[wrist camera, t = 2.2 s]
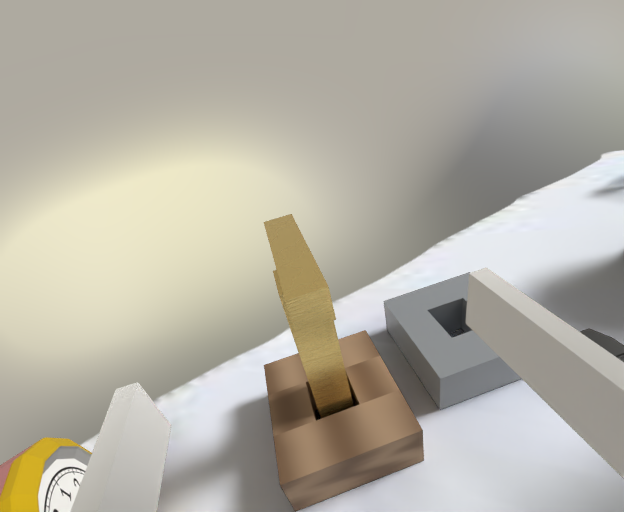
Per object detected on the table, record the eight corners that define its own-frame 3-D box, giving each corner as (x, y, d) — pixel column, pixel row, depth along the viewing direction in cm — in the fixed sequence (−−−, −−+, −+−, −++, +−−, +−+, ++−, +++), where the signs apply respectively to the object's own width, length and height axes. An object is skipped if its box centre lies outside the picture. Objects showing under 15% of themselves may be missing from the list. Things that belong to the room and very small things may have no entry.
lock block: (370, 359, 38) (365, 330, 35) (423, 460, 27) (422, 430, 25) (276, 392, 36) (264, 365, 34) (295, 511, 26) (280, 485, 24)
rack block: (467, 301, 42) (469, 272, 40) (544, 369, 32) (554, 336, 29) (386, 329, 41) (383, 301, 38) (440, 409, 31) (440, 378, 28)
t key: (337, 374, 37) (296, 212, 26) (375, 472, 27) (335, 284, 16) (312, 383, 36) (259, 223, 25) (342, 486, 27) (277, 303, 16)
